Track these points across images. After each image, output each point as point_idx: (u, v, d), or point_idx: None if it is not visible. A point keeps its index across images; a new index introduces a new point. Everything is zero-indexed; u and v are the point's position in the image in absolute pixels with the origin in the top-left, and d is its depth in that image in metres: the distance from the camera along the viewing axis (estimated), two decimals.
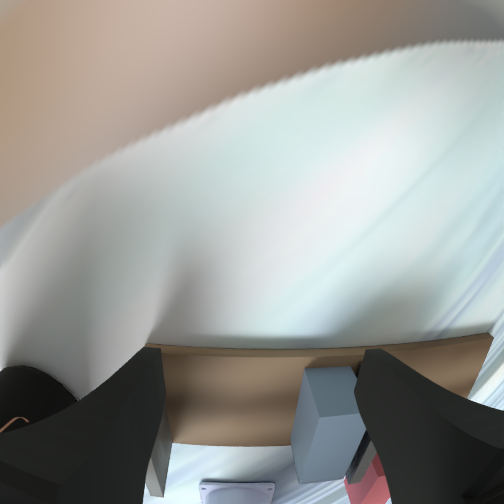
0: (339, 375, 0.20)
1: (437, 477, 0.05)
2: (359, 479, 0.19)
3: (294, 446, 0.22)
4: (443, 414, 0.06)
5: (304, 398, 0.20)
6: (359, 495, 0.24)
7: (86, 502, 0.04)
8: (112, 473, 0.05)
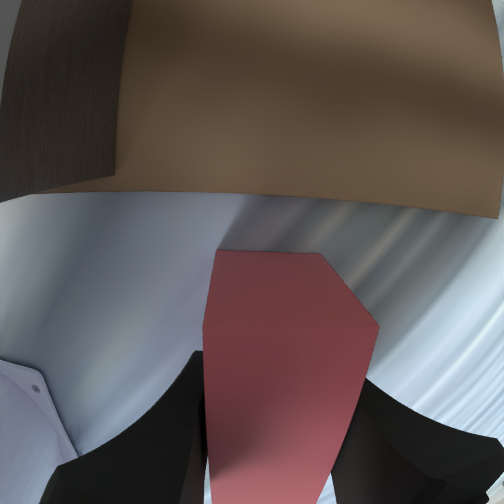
0: None
1: (373, 496, 0.05)
2: None
3: None
4: (382, 428, 0.06)
5: None
6: None
7: None
8: (193, 485, 0.05)
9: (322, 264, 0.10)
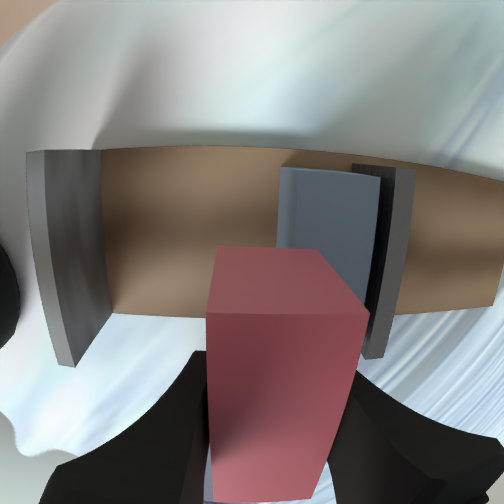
0: None
1: (373, 496, 0.05)
2: (381, 349, 0.14)
3: None
4: (381, 428, 0.06)
5: (282, 201, 0.16)
6: None
7: None
8: (193, 485, 0.05)
9: (318, 258, 0.10)
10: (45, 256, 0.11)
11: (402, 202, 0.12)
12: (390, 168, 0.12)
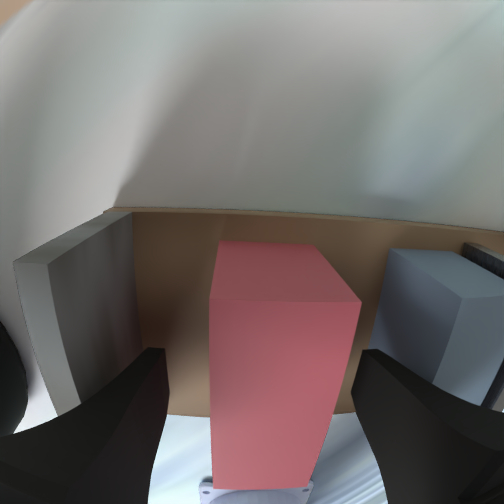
0: (446, 257, 0.11)
1: (433, 478, 0.05)
2: None
3: None
4: (438, 415, 0.06)
5: (396, 300, 0.11)
6: None
7: None
8: (119, 474, 0.05)
9: (314, 253, 0.11)
10: None
11: None
12: None
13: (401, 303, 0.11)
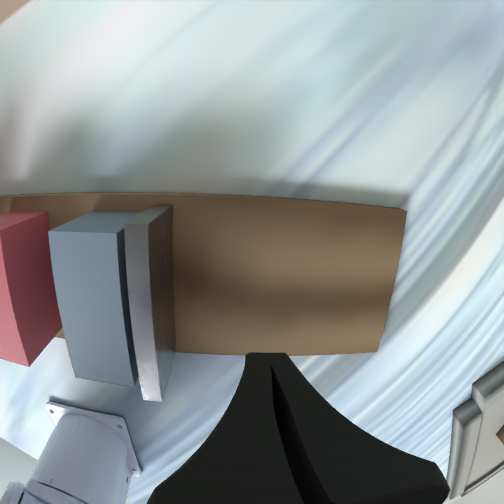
0: (122, 215, 0.16)
1: None
2: (156, 394, 0.14)
3: None
4: (308, 437, 0.06)
5: None
6: None
7: None
8: None
9: (36, 215, 0.15)
10: None
11: (136, 258, 0.12)
12: None
13: None
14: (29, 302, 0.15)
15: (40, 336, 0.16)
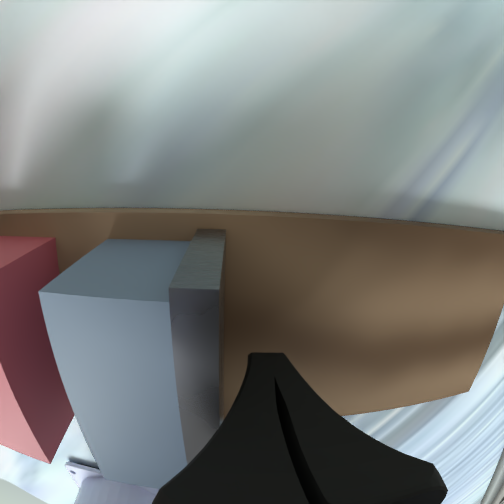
0: (160, 248, 0.10)
1: None
2: None
3: None
4: (305, 437, 0.06)
5: None
6: None
7: None
8: None
9: (36, 245, 0.10)
10: None
11: (193, 349, 0.07)
12: None
13: None
14: (38, 379, 0.09)
15: (58, 418, 0.10)
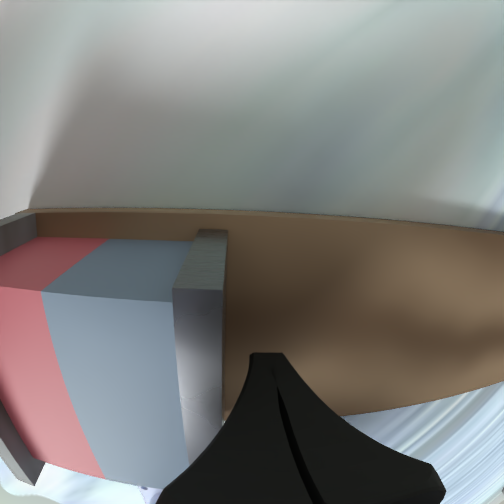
0: (162, 248, 0.10)
1: None
2: None
3: None
4: (304, 438, 0.06)
5: None
6: None
7: None
8: None
9: (92, 246, 0.10)
10: None
11: (196, 349, 0.07)
12: (175, 282, 0.07)
13: None
14: None
15: None
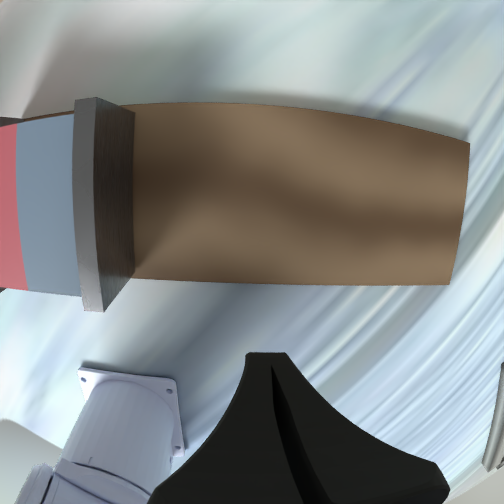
0: None
1: None
2: (97, 301, 0.13)
3: None
4: (308, 437, 0.06)
5: None
6: None
7: None
8: None
9: None
10: None
11: (82, 133, 0.10)
12: None
13: None
14: None
15: None
